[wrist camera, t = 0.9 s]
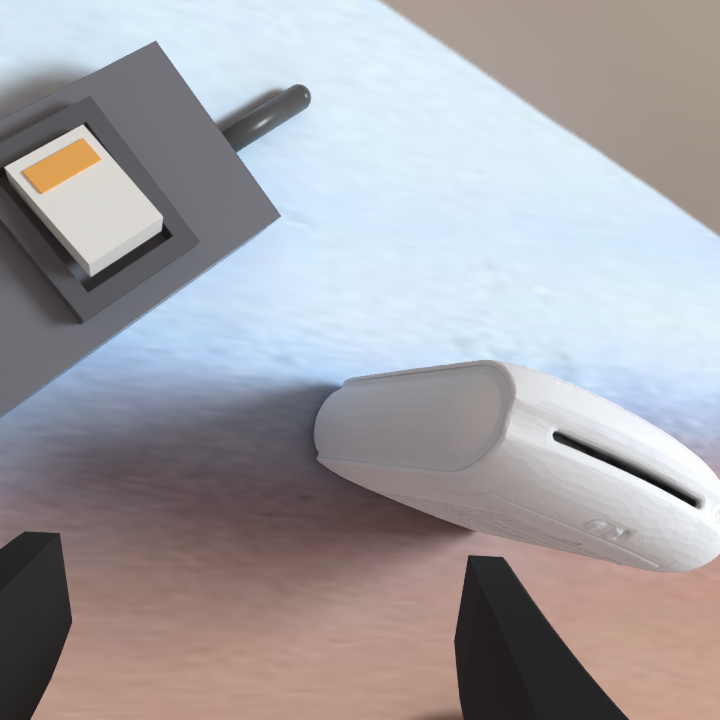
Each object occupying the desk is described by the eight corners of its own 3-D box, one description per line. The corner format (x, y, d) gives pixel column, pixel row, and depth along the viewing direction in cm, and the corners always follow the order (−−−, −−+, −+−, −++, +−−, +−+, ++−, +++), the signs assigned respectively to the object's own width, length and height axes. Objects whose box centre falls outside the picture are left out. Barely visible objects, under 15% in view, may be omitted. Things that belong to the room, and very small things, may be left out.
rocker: (90, 277, 20) (89, 263, 19) (10, 184, 20) (4, 166, 19) (161, 230, 21) (163, 215, 20) (84, 142, 21) (82, 123, 20)
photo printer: (518, 452, 32) (783, 467, 21) (493, 542, 31) (759, 608, 20) (331, 365, 28) (536, 325, 17) (295, 464, 27) (488, 491, 16)
